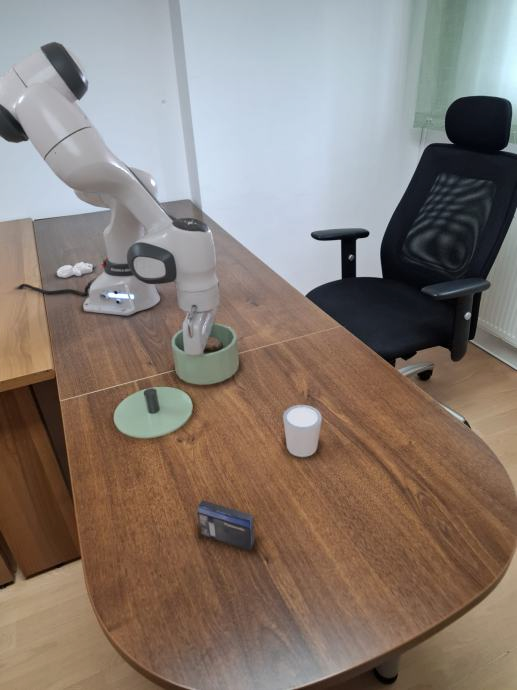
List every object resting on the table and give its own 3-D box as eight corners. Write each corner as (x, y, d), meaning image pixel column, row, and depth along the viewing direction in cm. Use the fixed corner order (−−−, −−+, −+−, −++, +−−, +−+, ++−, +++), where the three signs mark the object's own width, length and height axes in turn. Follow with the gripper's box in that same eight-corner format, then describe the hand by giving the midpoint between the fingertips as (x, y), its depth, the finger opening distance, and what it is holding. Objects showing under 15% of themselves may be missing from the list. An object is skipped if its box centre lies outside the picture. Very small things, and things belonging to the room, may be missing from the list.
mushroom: (215, 361, 100) (208, 333, 100) (184, 369, 103) (178, 342, 103) (231, 359, 107) (225, 333, 108) (202, 367, 110) (196, 342, 111)
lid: (111, 446, 87) (105, 423, 84) (117, 396, 100) (112, 375, 97) (195, 433, 89) (192, 411, 86) (190, 386, 102) (187, 365, 100)
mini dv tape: (200, 534, 70) (196, 507, 67) (205, 526, 71) (201, 499, 68) (251, 550, 67) (249, 523, 64) (255, 542, 68) (253, 515, 65)
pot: (177, 390, 101) (172, 360, 97) (175, 355, 114) (170, 326, 110) (243, 381, 103) (241, 351, 99) (234, 347, 116) (231, 319, 112)
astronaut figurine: (92, 275, 160) (90, 266, 159) (55, 279, 158) (53, 270, 157) (94, 266, 167) (92, 258, 166) (59, 269, 166) (57, 261, 164)
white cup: (310, 464, 81) (311, 434, 78) (276, 450, 84) (275, 421, 81) (326, 441, 86) (328, 411, 82) (294, 428, 89) (294, 400, 86)
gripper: (203, 319, 90) (210, 377, 97) (220, 277, 107) (224, 329, 114) (171, 319, 90) (180, 377, 97) (193, 277, 108) (199, 329, 115)
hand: (204, 351), depth 106 cm, fingers closed on mushroom, 7 cm apart
